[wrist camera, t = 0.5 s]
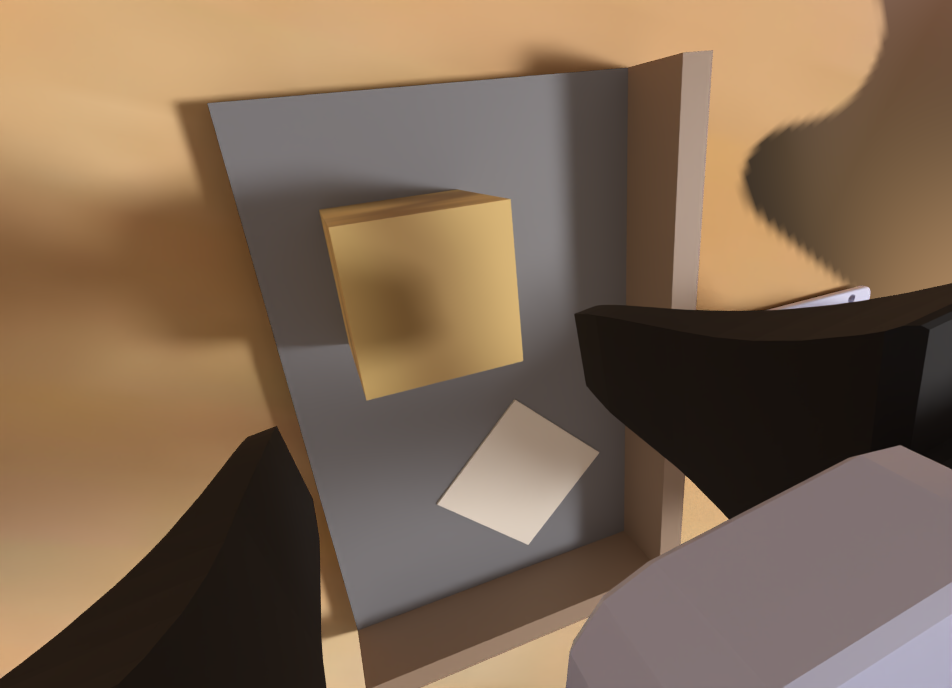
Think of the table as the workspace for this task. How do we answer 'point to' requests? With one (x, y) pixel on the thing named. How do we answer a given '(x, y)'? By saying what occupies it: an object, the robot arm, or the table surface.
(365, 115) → the arena
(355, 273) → the ochre block
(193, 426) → the table surface
